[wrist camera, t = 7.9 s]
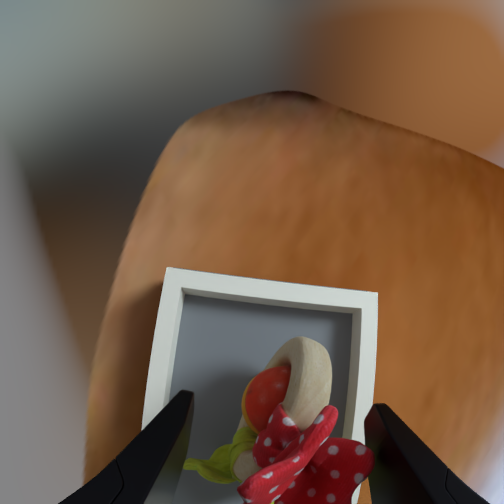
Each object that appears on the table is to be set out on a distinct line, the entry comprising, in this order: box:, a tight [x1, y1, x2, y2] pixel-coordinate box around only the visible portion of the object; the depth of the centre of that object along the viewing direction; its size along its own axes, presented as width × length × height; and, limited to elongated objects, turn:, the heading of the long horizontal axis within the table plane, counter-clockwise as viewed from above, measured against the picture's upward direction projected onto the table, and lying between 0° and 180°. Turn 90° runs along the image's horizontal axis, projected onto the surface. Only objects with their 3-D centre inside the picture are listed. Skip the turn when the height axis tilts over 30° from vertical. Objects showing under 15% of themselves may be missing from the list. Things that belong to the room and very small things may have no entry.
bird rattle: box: [183, 336, 375, 504], centre depth 12 cm, size 6×11×9 cm
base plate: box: [141, 267, 378, 504], centre depth 15 cm, size 22×12×4 cm, turn 174°
